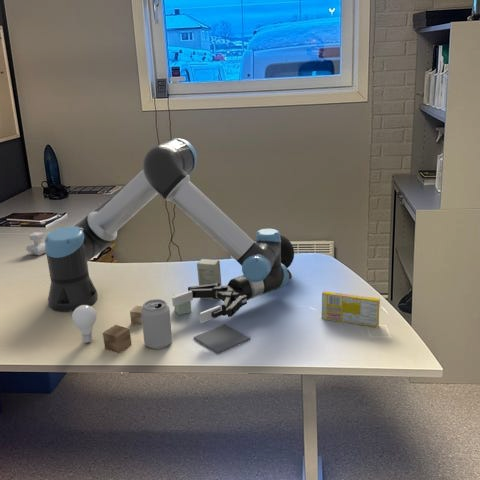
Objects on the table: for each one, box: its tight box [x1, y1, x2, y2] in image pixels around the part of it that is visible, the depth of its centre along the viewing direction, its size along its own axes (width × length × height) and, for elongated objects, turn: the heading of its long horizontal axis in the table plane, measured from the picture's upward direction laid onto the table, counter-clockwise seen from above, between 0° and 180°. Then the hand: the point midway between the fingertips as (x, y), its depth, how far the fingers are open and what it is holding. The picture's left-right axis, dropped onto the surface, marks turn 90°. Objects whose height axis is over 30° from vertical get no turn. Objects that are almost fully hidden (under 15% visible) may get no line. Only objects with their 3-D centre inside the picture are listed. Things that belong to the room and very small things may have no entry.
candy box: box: [321, 290, 381, 329], centre depth 159 cm, size 16×2×8 cm, turn 66°
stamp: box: [25, 231, 46, 256], centre depth 222 cm, size 9×7×8 cm
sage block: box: [173, 291, 192, 316], centre depth 170 cm, size 4×4×5 cm
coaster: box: [193, 323, 251, 355], centre depth 153 cm, size 11×11×1 cm
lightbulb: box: [71, 305, 97, 344], centre depth 152 cm, size 6×6×11 cm
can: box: [141, 298, 173, 350], centre depth 150 cm, size 8×8×12 cm
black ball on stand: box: [280, 234, 295, 280], centre depth 190 cm, size 13×13×15 cm
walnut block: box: [102, 324, 132, 354], centre depth 151 cm, size 5×5×5 cm
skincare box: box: [196, 258, 222, 301], centre depth 177 cm, size 6×4×12 cm
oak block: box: [129, 305, 143, 326], centre depth 164 cm, size 4×4×4 cm
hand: (186, 309), depth 156 cm, fingers open, 13 cm apart
